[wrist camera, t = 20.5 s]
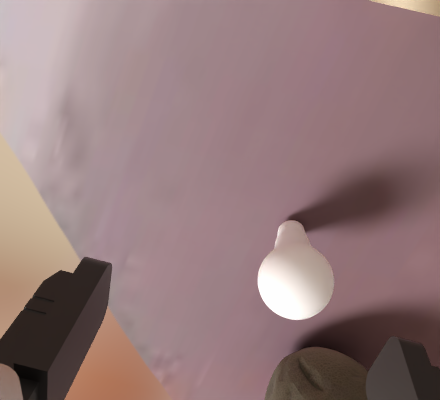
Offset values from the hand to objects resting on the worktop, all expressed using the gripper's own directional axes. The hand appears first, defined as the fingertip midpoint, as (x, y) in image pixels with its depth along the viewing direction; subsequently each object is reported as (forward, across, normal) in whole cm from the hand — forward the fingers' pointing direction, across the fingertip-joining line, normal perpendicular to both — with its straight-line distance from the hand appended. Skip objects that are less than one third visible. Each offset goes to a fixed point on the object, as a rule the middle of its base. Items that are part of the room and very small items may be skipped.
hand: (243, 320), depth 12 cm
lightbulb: (+26, -6, +12) cm, 30 cm away
